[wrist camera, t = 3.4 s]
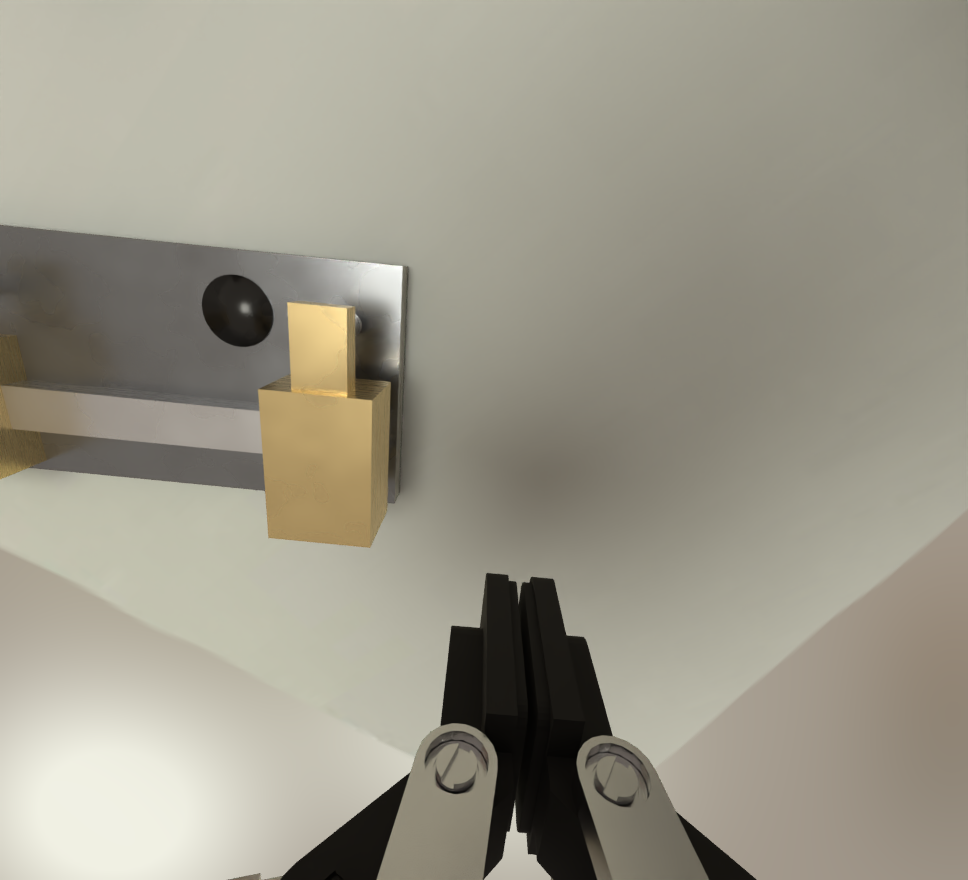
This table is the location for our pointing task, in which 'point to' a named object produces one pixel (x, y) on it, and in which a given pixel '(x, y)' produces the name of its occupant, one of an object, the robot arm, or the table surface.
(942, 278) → the table surface
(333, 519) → the block
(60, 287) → the hole plate
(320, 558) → the table surface
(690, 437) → the table surface
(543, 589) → the robot arm
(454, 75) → the table surface
